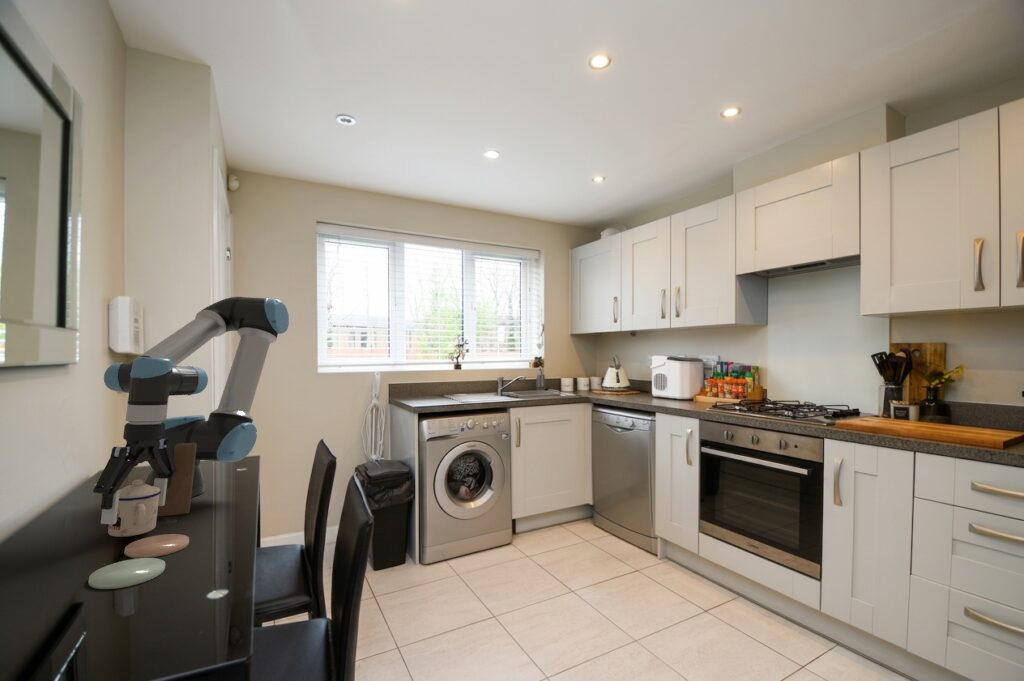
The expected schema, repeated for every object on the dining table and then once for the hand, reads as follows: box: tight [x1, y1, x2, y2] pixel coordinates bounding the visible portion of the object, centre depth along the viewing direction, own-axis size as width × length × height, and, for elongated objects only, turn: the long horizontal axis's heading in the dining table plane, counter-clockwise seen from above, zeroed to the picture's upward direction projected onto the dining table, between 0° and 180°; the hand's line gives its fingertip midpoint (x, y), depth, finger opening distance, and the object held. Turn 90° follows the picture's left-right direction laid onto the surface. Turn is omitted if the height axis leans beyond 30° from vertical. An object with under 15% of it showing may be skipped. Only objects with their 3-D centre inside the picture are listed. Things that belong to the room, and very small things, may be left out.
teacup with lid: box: [107, 479, 161, 538], centre depth 104 cm, size 12×9×12 cm
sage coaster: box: [88, 557, 166, 590], centre depth 84 cm, size 11×11×1 cm
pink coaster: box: [124, 533, 190, 559], centre depth 96 cm, size 11×11×1 cm
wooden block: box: [157, 443, 197, 518], centre depth 117 cm, size 9×4×18 cm, turn 122°
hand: (134, 513), depth 103 cm, fingers open, 13 cm apart
